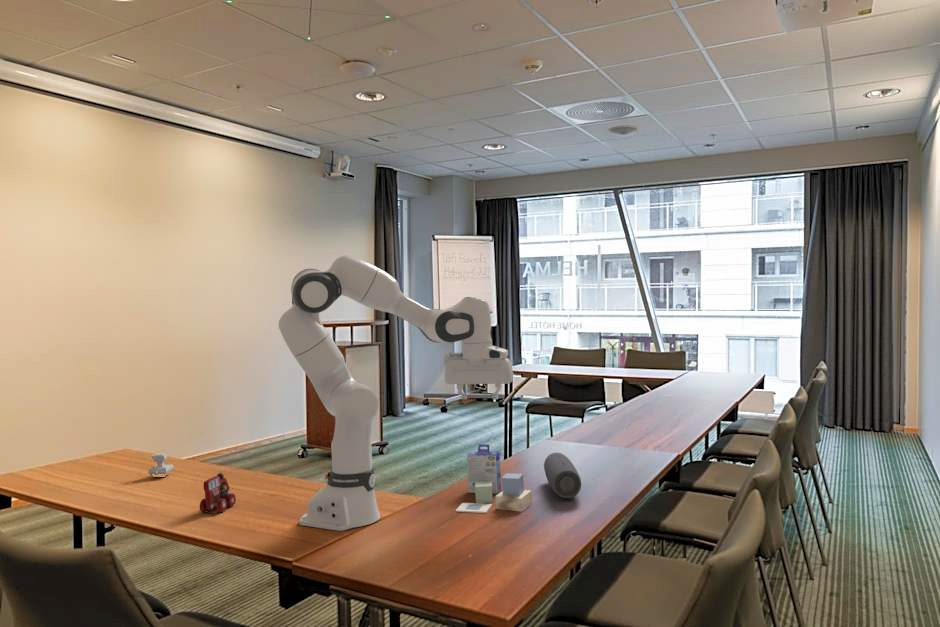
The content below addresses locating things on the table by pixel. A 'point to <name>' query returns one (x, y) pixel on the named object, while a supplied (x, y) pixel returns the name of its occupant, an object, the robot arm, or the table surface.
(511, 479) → the blue cube
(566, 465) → the bluetooth speaker
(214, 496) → the toy fire truck
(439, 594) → the table surface
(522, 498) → the birch base
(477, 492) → the green cube
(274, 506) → the table surface
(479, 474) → the ink cartridge box
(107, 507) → the table surface
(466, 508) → the swatch card
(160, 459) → the stamp
